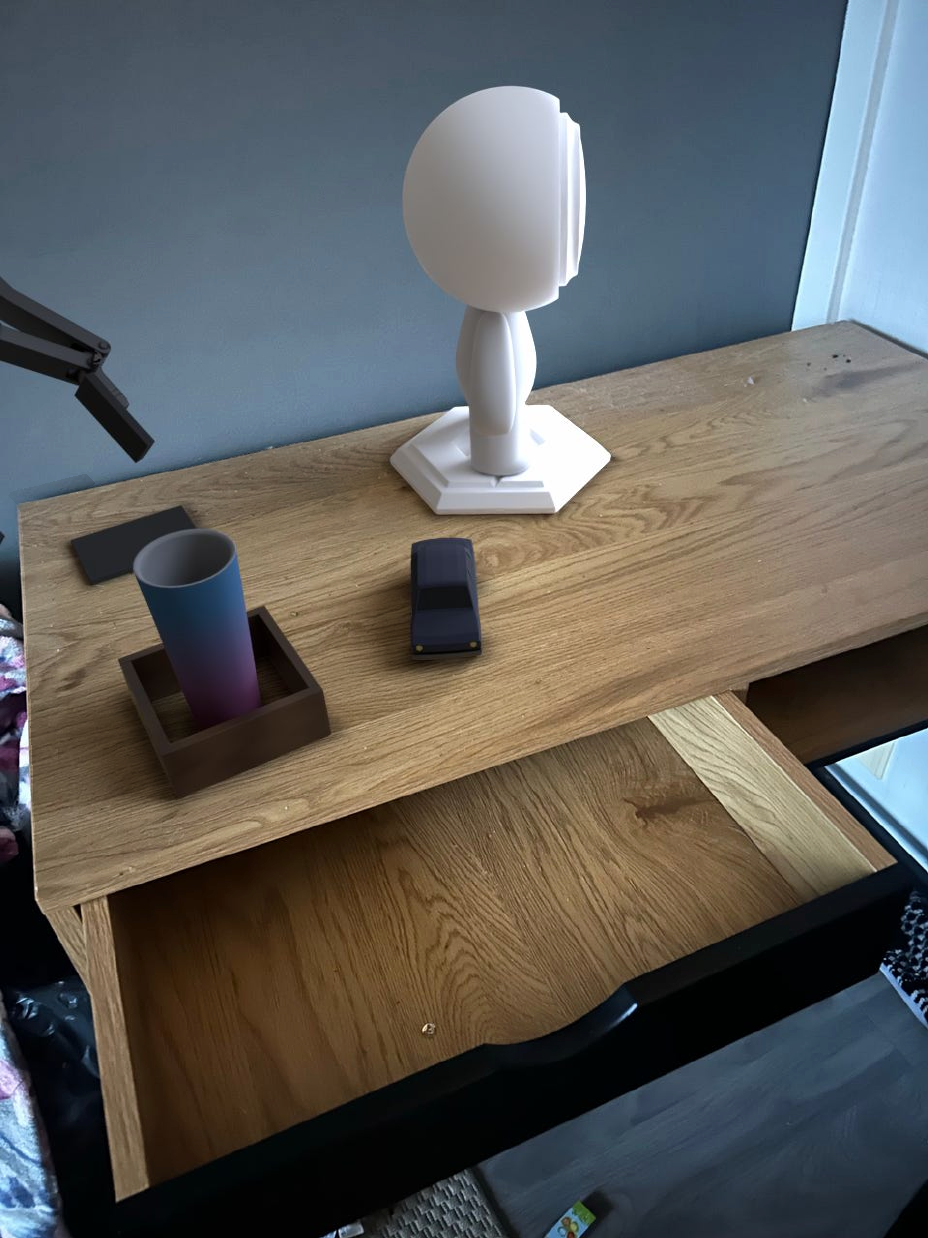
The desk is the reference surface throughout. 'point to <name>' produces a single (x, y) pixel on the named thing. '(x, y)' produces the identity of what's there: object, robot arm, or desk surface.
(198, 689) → the cup
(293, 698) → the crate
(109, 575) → the mat
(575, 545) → the desk surface
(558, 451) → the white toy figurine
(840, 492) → the desk surface
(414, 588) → the toy car
